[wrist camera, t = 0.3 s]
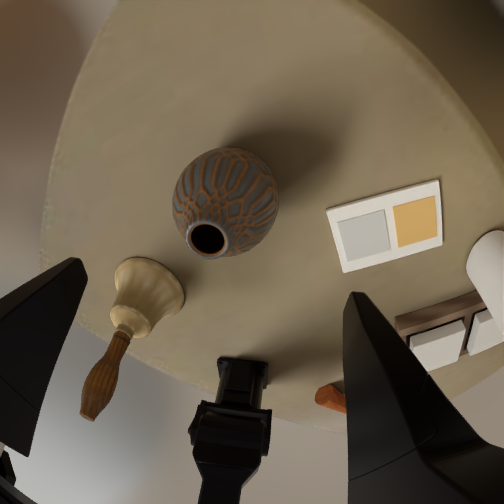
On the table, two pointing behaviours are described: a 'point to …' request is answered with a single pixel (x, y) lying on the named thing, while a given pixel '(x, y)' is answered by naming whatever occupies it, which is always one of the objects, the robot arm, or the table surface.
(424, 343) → the inner pad
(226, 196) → the vase
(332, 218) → the pattern card
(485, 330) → the outer pad
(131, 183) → the table surface
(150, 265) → the hand bell
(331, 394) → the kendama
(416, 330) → the button board
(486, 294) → the can
